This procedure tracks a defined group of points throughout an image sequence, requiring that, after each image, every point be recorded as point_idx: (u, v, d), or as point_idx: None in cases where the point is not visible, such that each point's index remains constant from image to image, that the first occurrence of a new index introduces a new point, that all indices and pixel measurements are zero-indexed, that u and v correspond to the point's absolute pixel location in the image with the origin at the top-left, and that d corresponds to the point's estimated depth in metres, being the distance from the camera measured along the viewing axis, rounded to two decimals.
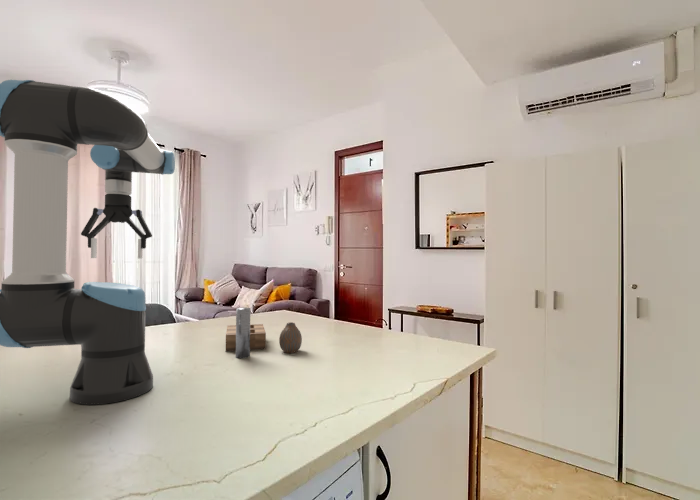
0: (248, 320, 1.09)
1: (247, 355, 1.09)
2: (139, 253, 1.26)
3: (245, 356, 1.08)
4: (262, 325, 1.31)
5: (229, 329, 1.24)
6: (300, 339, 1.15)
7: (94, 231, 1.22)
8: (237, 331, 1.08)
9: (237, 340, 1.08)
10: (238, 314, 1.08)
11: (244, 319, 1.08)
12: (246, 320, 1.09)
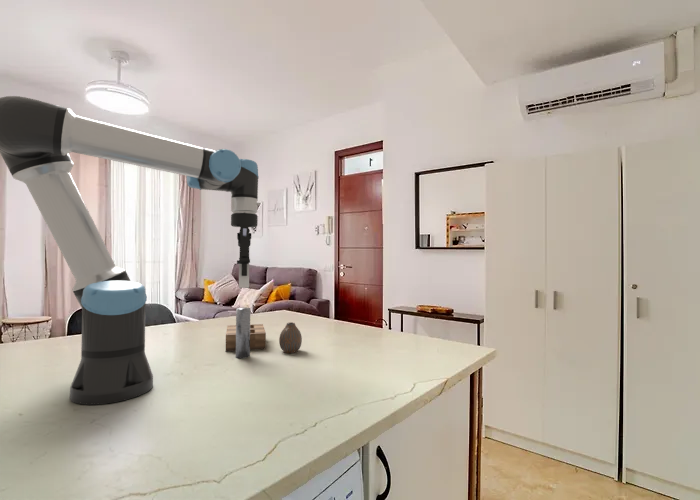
0: (248, 320, 1.09)
1: (247, 355, 1.09)
2: (239, 281, 1.03)
3: (245, 356, 1.08)
4: (262, 325, 1.31)
5: (229, 329, 1.24)
6: (300, 339, 1.15)
7: None
8: (237, 331, 1.08)
9: (237, 340, 1.08)
10: (238, 314, 1.08)
11: (244, 319, 1.08)
12: (246, 320, 1.09)
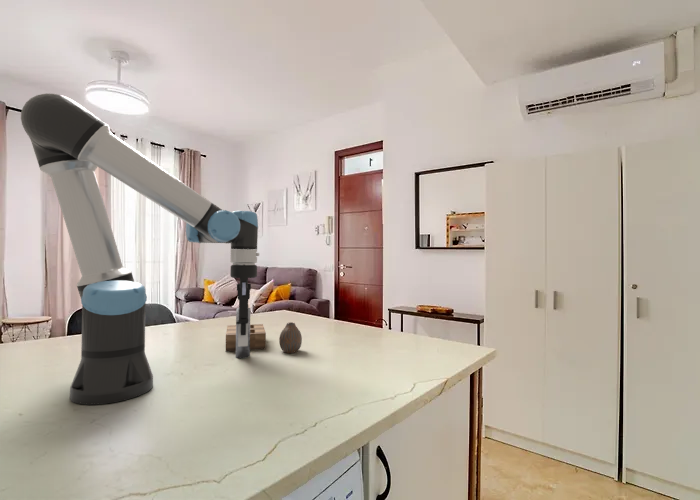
0: None
1: (247, 355, 1.09)
2: (238, 340, 1.07)
3: (245, 356, 1.08)
4: (262, 325, 1.31)
5: (229, 329, 1.24)
6: (300, 339, 1.15)
7: None
8: (237, 331, 1.08)
9: (237, 340, 1.08)
10: (238, 314, 1.08)
11: None
12: None
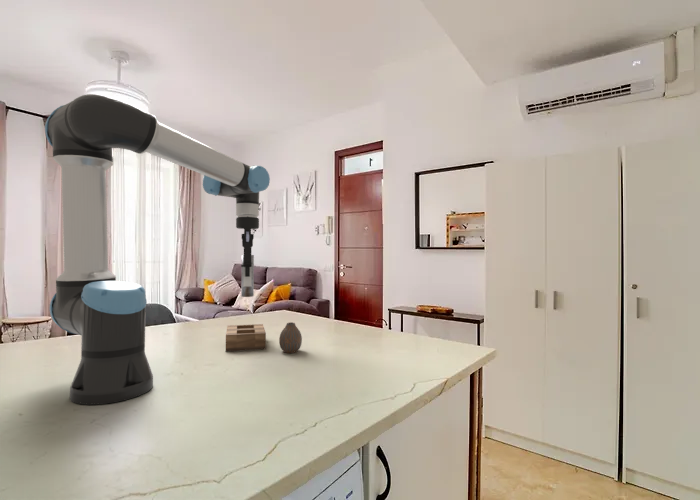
0: (252, 265, 1.27)
1: (251, 294, 1.27)
2: (243, 281, 1.25)
3: (249, 295, 1.26)
4: (262, 325, 1.31)
5: (229, 329, 1.24)
6: (300, 339, 1.15)
7: None
8: (242, 274, 1.26)
9: (242, 281, 1.26)
10: (243, 259, 1.26)
11: None
12: None
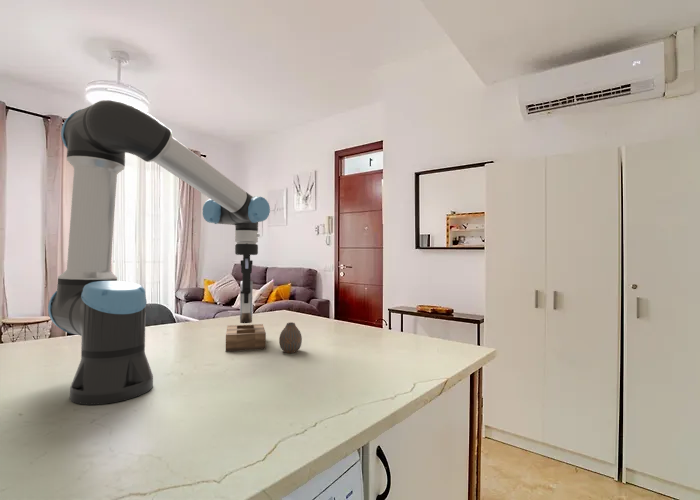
0: None
1: (250, 321, 1.27)
2: None
3: (248, 321, 1.27)
4: (262, 325, 1.31)
5: (229, 329, 1.24)
6: (300, 339, 1.15)
7: None
8: (241, 300, 1.27)
9: (241, 308, 1.27)
10: (242, 286, 1.27)
11: None
12: None
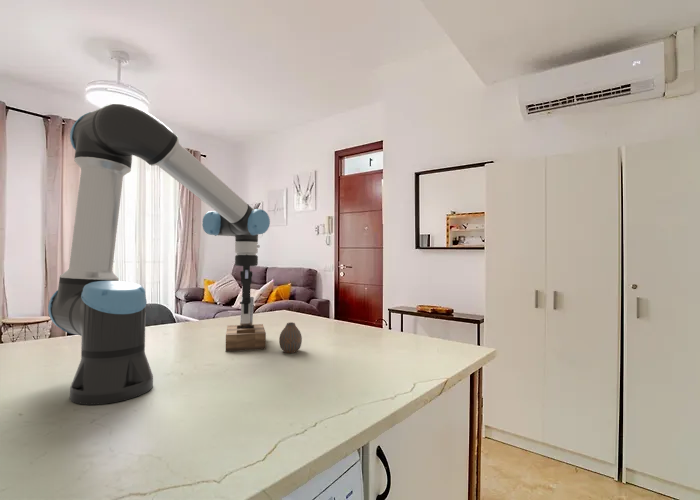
0: (251, 307, 1.28)
1: None
2: None
3: None
4: (262, 325, 1.31)
5: (229, 329, 1.24)
6: (300, 339, 1.15)
7: None
8: None
9: (241, 324, 1.27)
10: None
11: None
12: (250, 307, 1.27)
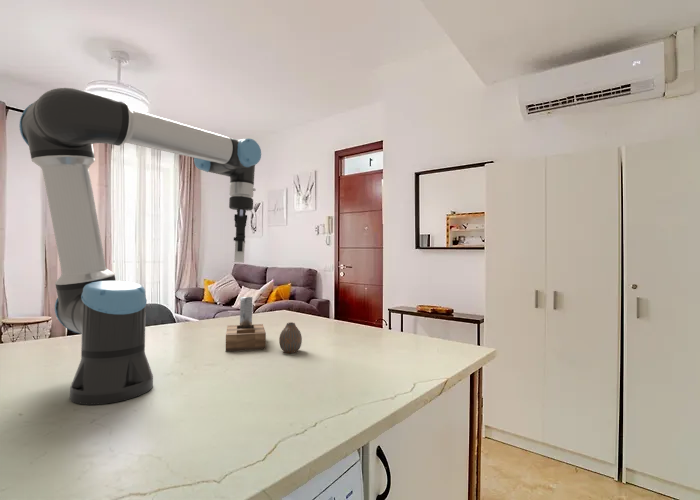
0: (250, 307, 1.28)
1: None
2: (235, 256, 1.15)
3: None
4: (262, 325, 1.31)
5: (229, 329, 1.24)
6: (300, 339, 1.15)
7: None
8: (241, 316, 1.27)
9: (241, 324, 1.27)
10: (242, 302, 1.27)
11: (247, 306, 1.27)
12: (249, 307, 1.27)
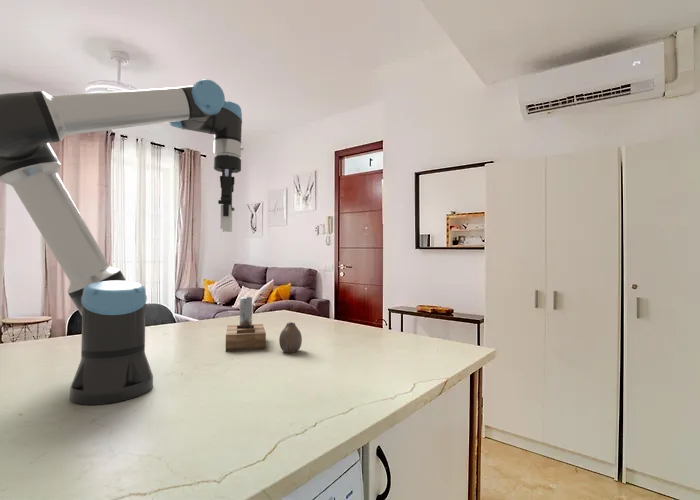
0: (250, 307, 1.27)
1: None
2: None
3: None
4: (262, 325, 1.31)
5: (229, 329, 1.24)
6: (300, 339, 1.15)
7: None
8: (241, 317, 1.27)
9: (241, 324, 1.27)
10: (241, 302, 1.27)
11: (246, 306, 1.26)
12: (248, 307, 1.27)
